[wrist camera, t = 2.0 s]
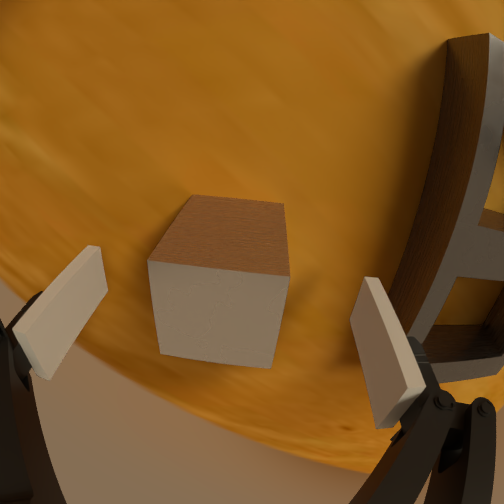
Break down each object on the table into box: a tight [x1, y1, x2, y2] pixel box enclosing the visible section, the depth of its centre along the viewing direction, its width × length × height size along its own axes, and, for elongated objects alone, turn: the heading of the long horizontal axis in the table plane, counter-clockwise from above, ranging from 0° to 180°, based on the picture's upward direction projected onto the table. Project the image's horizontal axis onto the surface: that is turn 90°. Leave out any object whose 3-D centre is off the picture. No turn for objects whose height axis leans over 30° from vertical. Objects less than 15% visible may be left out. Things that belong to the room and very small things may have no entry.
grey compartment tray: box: [388, 33, 504, 383], centre depth 14 cm, size 22×13×4 cm, turn 174°
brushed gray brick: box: [147, 195, 290, 369], centre depth 14 cm, size 5×5×7 cm
